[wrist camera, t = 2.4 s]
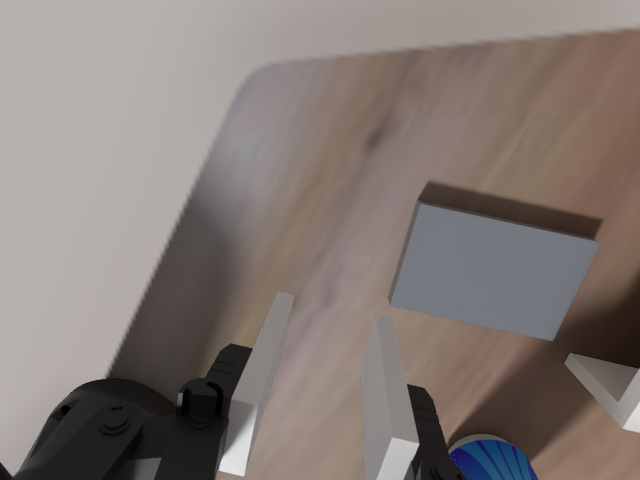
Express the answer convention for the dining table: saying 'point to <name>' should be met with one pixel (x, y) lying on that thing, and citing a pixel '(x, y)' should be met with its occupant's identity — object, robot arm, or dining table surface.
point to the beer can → (490, 459)
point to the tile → (489, 270)
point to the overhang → (610, 387)
